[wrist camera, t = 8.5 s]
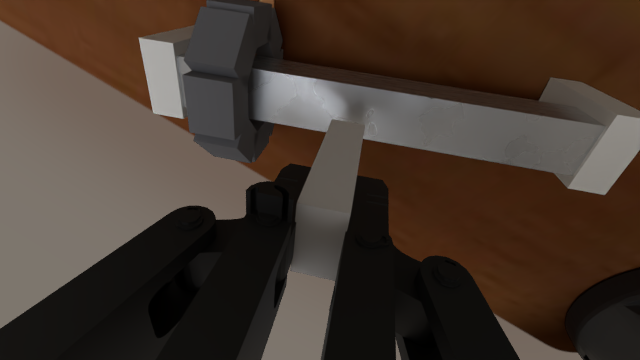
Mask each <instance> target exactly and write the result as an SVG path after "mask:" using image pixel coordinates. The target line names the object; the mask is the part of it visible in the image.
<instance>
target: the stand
mask: <svg viewBox="0 0 640 360" xmlns="http://www.w3.org/2000/svg"><path fill="white" fill-rule="evenodd" d="M260 2H263V3H270V4H272V8H274V0H260ZM194 26H195V25H194ZM194 26H189V27H185V28H180V29H176V30H171V31H167V32H162V33H158V34H154V35H149V36H145V37H140V38H139V42H140V47H141V52H142V57H143V63H144V68H145V73H146V78H147V83H148V88H149V93H150V99H151V104H152V109H153V113H154V114H160V115H166V116H171V117H177V118H182V119H184V118H185V117H187V116H188V115H187V107H184V106H183V99H182V92H181V84H180V77H179V70H178V62H177V56H178V55H181V54H184V53H186V51H187V48H188V45H189V42H190V39H191V36H192V32H193V29H194ZM539 101H543V102H549V103H556V104H562V105H568V106H574V107H577V108H578V109H580V110H581V111H583V112H584V113H586V114H588V115H589V116H591V117H592V118H594V119H595V120H597V121H598V122H600V123H602V124H603V125H605V126H606V127H605V129H604V130H603V132H602V133H601V135H600V136H599V138H598V139H597V141H596V142H595V144H594V145H593V147H592V148H591V150H590V151H589V153H588V154H587V156H586V157H585V159H584V160H583V162H582V163H581V165H580V166H579V167H578V169H577V170H576V172H575V173H574V175H573V176H569V175H564V174H558V173H554V174H555V175H556V176H557V177H558V178H559V179H560V180H561V182H562V183H563V184H564V185H565V186H566V187H567V188H569V189H574V190H580V191H585V192H591V193H597V194H602V195H605V194H606V193H607V192H608V190H609V189H610V188H611V186H612V185H613V184H614V183H615V181H616V180H617V179H618V177H619V176H620V175H621V174H622V172H623V171H624V170H625V168H626V167H627V166H628V164H629V163H630V162H631V161H632V159H633V158H634V157H635V155H636V154H637V153H638V152H639V150H640V111H639V110H637V109H635V108H633V107H631V106H629V105H627V104H625V103H623V102H621V101H619V100H617V99H615V98H613V97H611V96H609V95H607V94H605V93H603V92H601V91H599V90H597V89H595V88H593V87H591V86H589V85H587V84H585V83H583V82H578V81H572V80H565V79H559V78H552V77H551V78H550V80H549V82H548V84H547V86H546V88H545V89H544V91H543V93H542V95H541V97H540V99H539Z"/></svg>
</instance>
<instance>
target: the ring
mask: <svg viewBox="0 0 640 360" xmlns="http://www.w3.org/2000/svg"><path fill="white" fill-rule="evenodd" d="M206 1H207V7H201V8H200V11H199V14H198V17H197V20H196V23H195V26H194V29H193V32H192V36H191V39H190V42H189V45H188V48H187V51H186V54H185V57H184V62H185V63H186V64H187V65H188V67H189V68H190V69H191V70H192V71H190V72H188V73H185V74H183V75H182V77H183V85H184V92H185V100H186V107H187V115H188V123H189V130H190V132H191V133H196V134H195V137H194V141H195V142H196V143H197V144H199V145H200V146H201V147H203V148H204V149H205V150H207V151H208V152H209V153H210V154H212V155H213V156H215V157H221V158H226V159H231V160H236V161H242V162H247V163H251V162H255V161H256V160H257V158H258V157H259V155H260V154H261V153H262V151H263V150H264V148H265V147H266V146H267V144H268V143H269V136H271V135H272V131H273V127H274V123H271V122H266V121H260V120H254V119H249V118H248V79H249V76H250V72H251V68H252V65H253V61H254V58H255V54H257V56H262V57H269V58H275V59H281V60H283V49H281V46H282V42H283V39H282V35H281V31H280V27H279V23H278V19H277V15H276V11H275V8H272V4H270V3H263V2H256V1H250V0H206Z"/></svg>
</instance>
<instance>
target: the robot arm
mask: <svg viewBox="0 0 640 360" xmlns="http://www.w3.org/2000/svg"><path fill="white" fill-rule="evenodd" d="M364 129H365V125H363V124H357V123H351V122H346V121H340V120H335V119H332V121H331V123H330V125H329V128H328V130H327V133H326V135H325V137H324V140H323V142H322V144H321V147H320V149H319V151H318V154H317V156H316V159H315V161H314V163H313V166H312V167H306V166H301V165H296V164H289V165H288V166H286V167H284V168H283V169H282V170H281V171H280V173H279V175H278V176H277V178H276V180H275V181H274V182H270V181H266V182H259V183H256V184H254V185H251V186H250V187H249V188H248V189H247V190H246V215H245V217H244V218H241V219H232V220H216V218H215V215H214V213H213V211H211V210H209V209H208V208H206V207H201V206H187V207H182V208H179V209H177V210H175V211H173V212H171V213H169V214H168V215H166V216H165V217H163V218H162V219H161V220H159V221H157V222H156V223H155V224H153V225H152V226H150V227H149V228H147V229H146V230H144V231H143V232H142V233H140V234H138V235H137V236H135V237H134V238H133V239H131V240H130V241H128V242H127V243H125V244H124V245H122V246H121V247H119V248H118V249H116V250H115V251H114V252H112V253H111V254H109V255H108V256H106V257H105V258H103V259H102V260H100V261H99V262H97V263H96V264H94V265H93V266H92V267H90V268H89V269H87V270H86V271H84V272H83V273H81V274H80V275H78V276H77V277H76V278H74V279H72V280H71V281H70V282H68V283H67V284H65V285H64V286H62V287H61V288H59V289H58V290H56V291H55V292H53V293H52V294H50V295H49V296H48V297H46V298H45V299H43V300H42V301H40V302H39V303H37V304H36V305H34V306H33V307H31V308H30V309H29V310H27V311H26V312H24V313H23V314H21V315H20V316H18V317H17V318H15V319H14V320H12V321H11V322H9V323H8V324H7V325H5V326H4V327H2V328H1V329H0V360H261V358H262V355H263V352H264V349H265V346H266V343H267V340H268V337H269V334H270V332H271V329H272V326H273V322H274V320H275V317H276V314H277V311H278V308H279V305H280V302H281V299H282V296H283V293H284V290H285V287H286V281H287V273H288V270H289V267H290V264H291V271H294V272H298V273H303V274H307V275H311V276H316V277H320V278H325V279H329V280H333V281H335V286H334V291H333V295H332V300H331V305H330V310H329V311H330V312H329V317H328V323H327V329H326V335H325V340H324V345H323V351H322V356H321V360H396V342H395V337H396V341H397V345H398V348H399V352H400V356H401V360H520V359H519V357H518V355H517V354H516V352H515V350H514V348H513V347H512V345H511V343H510V342H509V340H508V338H507V336H506V335H505V333H504V331H503V329H502V328H501V326H500V324H499V323H498V321H497V319H496V317H495V316H494V314H493V312H492V310H491V309H490V307H489V305H488V303H487V302H486V300H485V298H484V296H483V295H482V293H481V291H480V290H479V288H478V286H477V284H476V283H475V281H474V279H473V277H472V276H471V275H470V273H469V272H468V271H467V270H466V268H464V267H463V266H462V265H460V264H459V263H458V262H456V261H454V260H452V259H450V258H447V257H443V256H429V257H427V258H425V259H424V260H423V261H422V262H420V261H418V260H415V259H413V258H411V257H409V256H407V255H405V254H404V253H402V252H401V251H399V250H398V249H397V248H396V247H395V246H394V245H393V242H392V238H391V237H390V236H389V223H388V188H387V186H386V185H385V183H384V182H383V180H379V179H373V178H368V177H363V176H358V175H357V172H358V166H359V160H360V153H361V147H362V141H363V135H364ZM565 327H566V331H567V333H568V335H569V337H570V339H571V341H572V343H573V345H574V347H575V348H576V350H577V352H578V353H579V355H580V356H581V358H582V359H583V360H640V269H639V270H635V271H631V272H628V273H625V274H622V275H619V276H616V277H614V278H611V279H609V280H607V281H604V282H602V283H600V284H598V285H597V286H595V287H593V288H592V289H590V290H588V291H587V292H586V293H584V294H583V295H582V296H581V297H579V298H578V299H577V300H576V301H575V303H574V304H573V305H572V306H571V308H570V309H569V311H568V313H567V316H566V320H565Z"/></svg>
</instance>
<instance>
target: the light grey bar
mask: <svg viewBox="0 0 640 360" xmlns="http://www.w3.org/2000/svg"><path fill="white" fill-rule="evenodd" d="M185 54H186V53H184V54H181V55H178V56H177V62H178V70H179V77H180V84H181V92H182V99H183V106H184V107H186V100H185V92H184V85H183V77H182V75H183V74H185V73H188V72H190V71H192V70H191V69H190V68H189V67H188V65H187V64H186V63H185V62H184V57H185ZM248 118H249V119H254V120H260V121H266V122H271V123H277V124H282V125H288V126H294V127H299V128H305V129H311V130H316V131H322V132H327V130H328V128H329V125H330V123H331V121H332V119H335V120H340V121H346V122H351V123H357V124H363V125H365V129H364V135H363V139H367V140H373V141H378V142H384V143H389V144H395V145H401V146H406V147H412V148H418V149H423V150H429V151H434V152H440V153H446V154H451V155H457V156H463V157H468V158H474V159H479V160H485V161H491V162H496V163H502V164H508V165H513V166H519V167H524V168H530V169H536V170H541V171H547V172H553V173H558V174H564V175H569V176H573V175H574V173H575V172H576V170H577V169H578V167H579V166H580V165H581V163H582V162H583V160H584V159H585V157H586V156H587V154H588V153H589V151H590V150H591V148H592V147H593V145H594V144H595V142H596V141H597V139H598V138H599V136H600V135H601V133H602V132H603V130H604V129H605V127H606V126H605V125H603V124H602V123H600V122H598V121H597V120H595V119H594V118H592V117H591V116H589V115H588V114H586V113H584V112H583V111H581V110H580V109H578V108H577V107H574V106H568V105H562V104H556V103H549V102H543V101H537V100H531V99H524V98H518V97H512V96H506V95H500V94H493V93H487V92H481V91H475V90H468V89H462V88H456V87H450V86H443V85H437V84H431V83H425V82H418V81H412V80H406V79H400V78H393V77H387V76H381V75H375V74H368V73H362V72H356V71H350V70H344V69H337V68H331V67H325V66H319V65H312V64H306V63H300V62H294V61H287V60H281V59H275V58H269V57H262V56H257V54H255V58H254V61H253V65H252V68H251V72H250V76H249V79H248Z"/></svg>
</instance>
